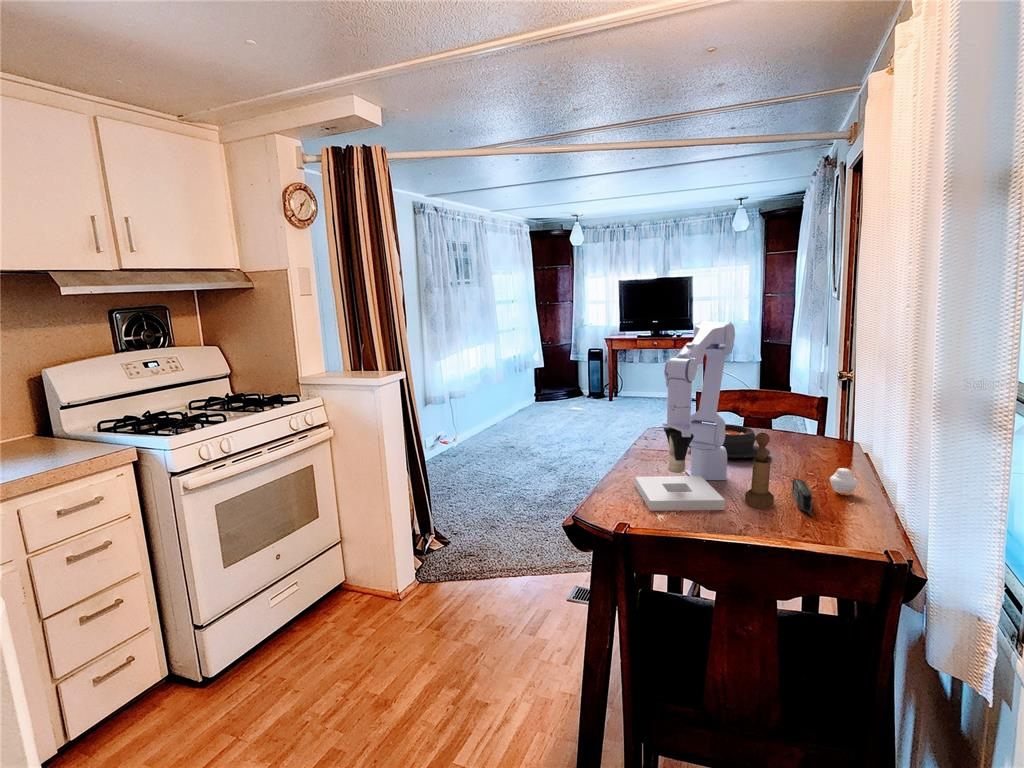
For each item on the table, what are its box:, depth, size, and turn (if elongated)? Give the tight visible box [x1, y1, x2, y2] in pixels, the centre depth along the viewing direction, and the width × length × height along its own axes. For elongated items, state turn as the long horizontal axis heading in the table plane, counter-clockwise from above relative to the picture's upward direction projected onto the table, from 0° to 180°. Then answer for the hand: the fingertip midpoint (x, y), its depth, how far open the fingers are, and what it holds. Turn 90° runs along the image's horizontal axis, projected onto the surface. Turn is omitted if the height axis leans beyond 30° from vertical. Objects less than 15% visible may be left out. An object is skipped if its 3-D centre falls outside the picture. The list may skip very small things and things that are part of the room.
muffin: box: [829, 467, 858, 494], centre depth 143 cm, size 6×6×7 cm
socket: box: [634, 475, 726, 512], centre depth 144 cm, size 18×18×2 cm
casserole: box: [688, 423, 771, 460], centre depth 180 cm, size 25×19×8 cm
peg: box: [668, 436, 686, 474], centre depth 142 cm, size 4×4×9 cm
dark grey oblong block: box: [791, 478, 814, 516], centre depth 137 cm, size 5×3×15 cm
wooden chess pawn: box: [744, 432, 775, 509], centre depth 137 cm, size 7×6×18 cm
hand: (677, 457), depth 142 cm, fingers closed on peg, 4 cm apart
